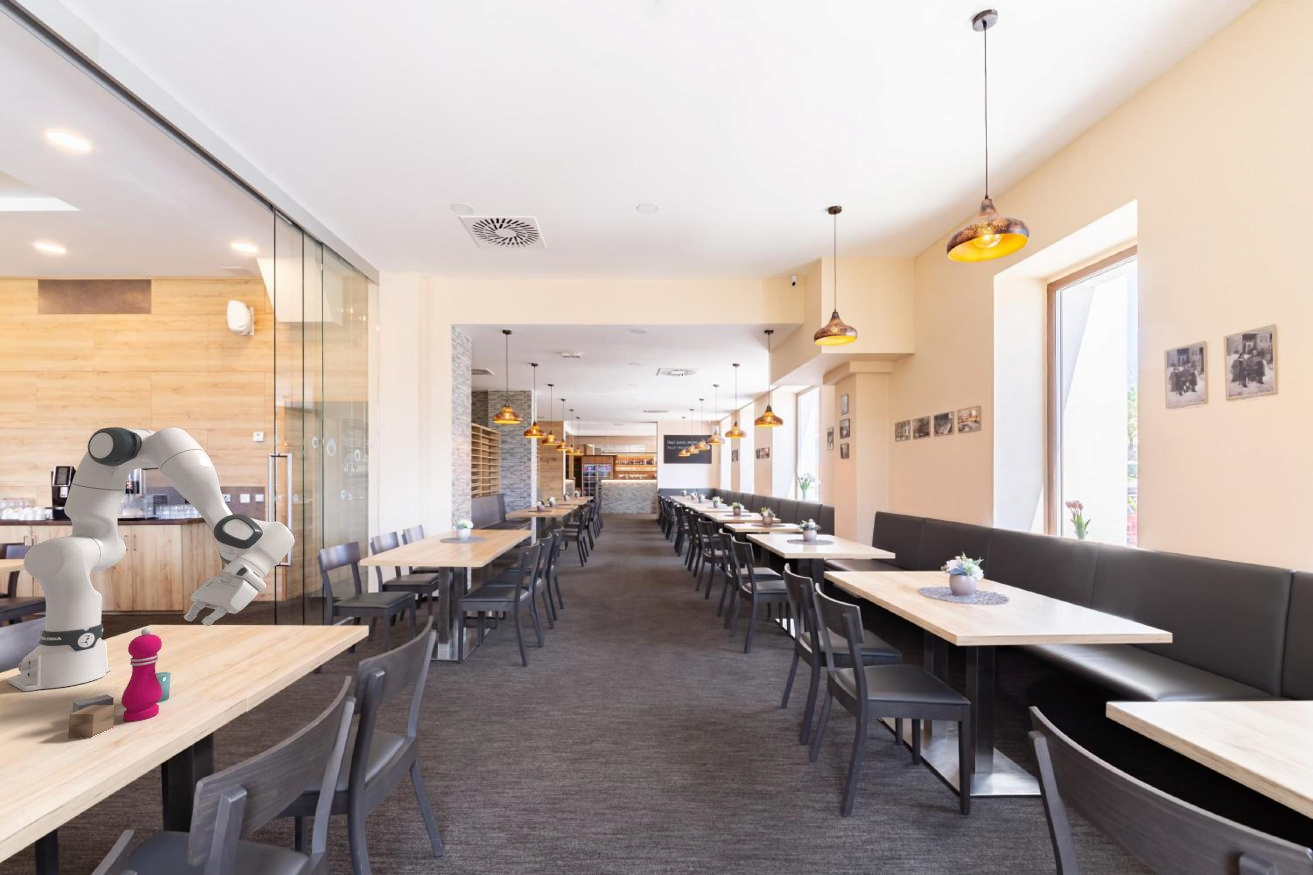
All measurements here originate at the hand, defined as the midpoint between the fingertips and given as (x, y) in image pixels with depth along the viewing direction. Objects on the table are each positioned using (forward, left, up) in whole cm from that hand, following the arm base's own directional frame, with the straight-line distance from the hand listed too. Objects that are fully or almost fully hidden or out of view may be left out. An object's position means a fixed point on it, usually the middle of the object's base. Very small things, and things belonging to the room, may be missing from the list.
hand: (195, 621), depth 149 cm
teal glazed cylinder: (-10, -2, -19) cm, 22 cm away
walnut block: (-2, -19, -19) cm, 27 cm away
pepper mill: (-2, -10, -20) cm, 22 cm away
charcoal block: (-12, -14, -20) cm, 27 cm away
